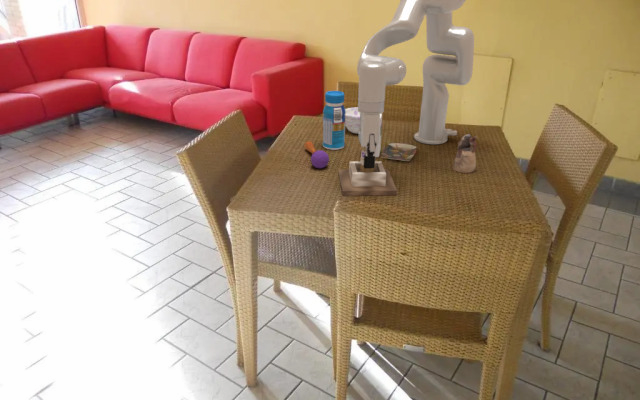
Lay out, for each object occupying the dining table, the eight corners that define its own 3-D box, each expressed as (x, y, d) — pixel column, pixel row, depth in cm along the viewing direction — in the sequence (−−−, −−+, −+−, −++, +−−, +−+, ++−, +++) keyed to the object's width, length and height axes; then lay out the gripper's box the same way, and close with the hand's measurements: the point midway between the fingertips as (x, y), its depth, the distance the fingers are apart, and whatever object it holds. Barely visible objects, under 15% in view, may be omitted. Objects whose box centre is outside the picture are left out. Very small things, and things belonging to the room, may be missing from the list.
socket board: (387, 173, 157) (388, 157, 155) (396, 195, 143) (398, 178, 141) (338, 173, 157) (339, 157, 154) (342, 195, 142) (343, 178, 140)
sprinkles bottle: (356, 174, 148) (358, 132, 142) (365, 169, 151) (367, 128, 145) (369, 178, 146) (371, 135, 140) (377, 173, 149) (380, 131, 143)
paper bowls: (367, 122, 204) (368, 104, 201) (386, 133, 192) (387, 114, 188) (335, 127, 199) (335, 108, 195) (352, 138, 187) (352, 119, 183)
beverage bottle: (318, 148, 177) (319, 94, 168) (327, 141, 184) (328, 89, 175) (340, 151, 174) (342, 97, 165) (348, 144, 181) (350, 91, 172)
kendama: (318, 138, 175) (332, 154, 158) (315, 154, 178) (329, 171, 160) (302, 136, 174) (314, 152, 156) (299, 152, 176) (311, 169, 158)
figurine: (459, 163, 166) (465, 129, 160) (478, 169, 161) (484, 134, 156) (448, 168, 161) (453, 134, 156) (467, 175, 157) (473, 140, 151)
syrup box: (379, 157, 169) (381, 117, 163) (362, 156, 170) (364, 116, 164) (380, 151, 174) (383, 112, 168) (364, 150, 175) (366, 111, 169)
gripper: (354, 98, 146) (352, 154, 154) (361, 114, 131) (358, 176, 140) (379, 97, 146) (376, 154, 155) (388, 114, 131) (384, 175, 140)
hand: (367, 163), depth 147 cm, fingers closed on sprinkles bottle, 4 cm apart
